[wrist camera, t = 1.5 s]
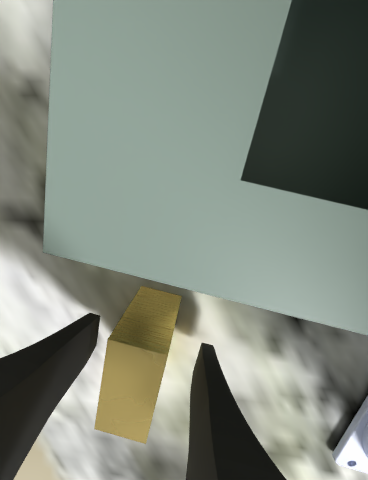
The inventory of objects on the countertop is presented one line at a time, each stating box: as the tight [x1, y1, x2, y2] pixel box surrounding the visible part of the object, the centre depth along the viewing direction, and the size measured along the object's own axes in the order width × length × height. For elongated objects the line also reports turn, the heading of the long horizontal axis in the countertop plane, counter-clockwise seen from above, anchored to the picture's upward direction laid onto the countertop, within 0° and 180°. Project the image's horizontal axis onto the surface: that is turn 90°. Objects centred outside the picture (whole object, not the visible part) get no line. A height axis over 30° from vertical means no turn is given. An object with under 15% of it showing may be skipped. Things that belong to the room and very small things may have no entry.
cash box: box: [43, 0, 368, 336], centre depth 7 cm, size 13×13×6 cm
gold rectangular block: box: [94, 286, 182, 444], centre depth 11 cm, size 2×5×4 cm, turn 167°
